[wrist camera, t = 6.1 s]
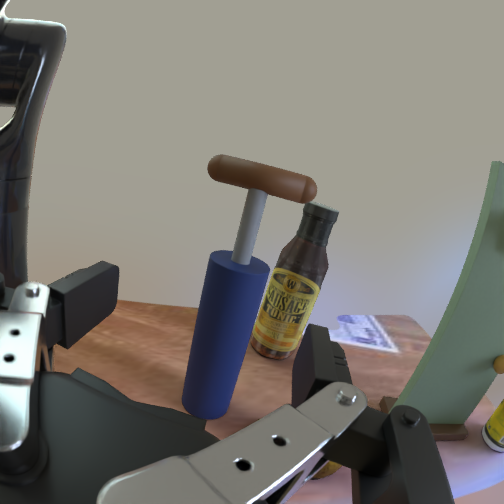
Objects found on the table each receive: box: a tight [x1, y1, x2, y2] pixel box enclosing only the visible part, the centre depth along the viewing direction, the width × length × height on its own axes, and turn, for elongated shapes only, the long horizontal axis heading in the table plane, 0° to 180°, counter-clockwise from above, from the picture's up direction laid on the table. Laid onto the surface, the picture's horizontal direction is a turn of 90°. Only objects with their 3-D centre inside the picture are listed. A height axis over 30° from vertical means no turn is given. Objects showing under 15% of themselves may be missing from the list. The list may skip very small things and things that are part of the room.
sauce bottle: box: [251, 201, 339, 360], centre depth 37 cm, size 7×6×20 cm
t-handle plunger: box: [182, 155, 317, 419], centre depth 24 cm, size 8×5×22 cm, turn 83°
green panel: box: [379, 161, 504, 441], centre depth 22 cm, size 11×12×30 cm
